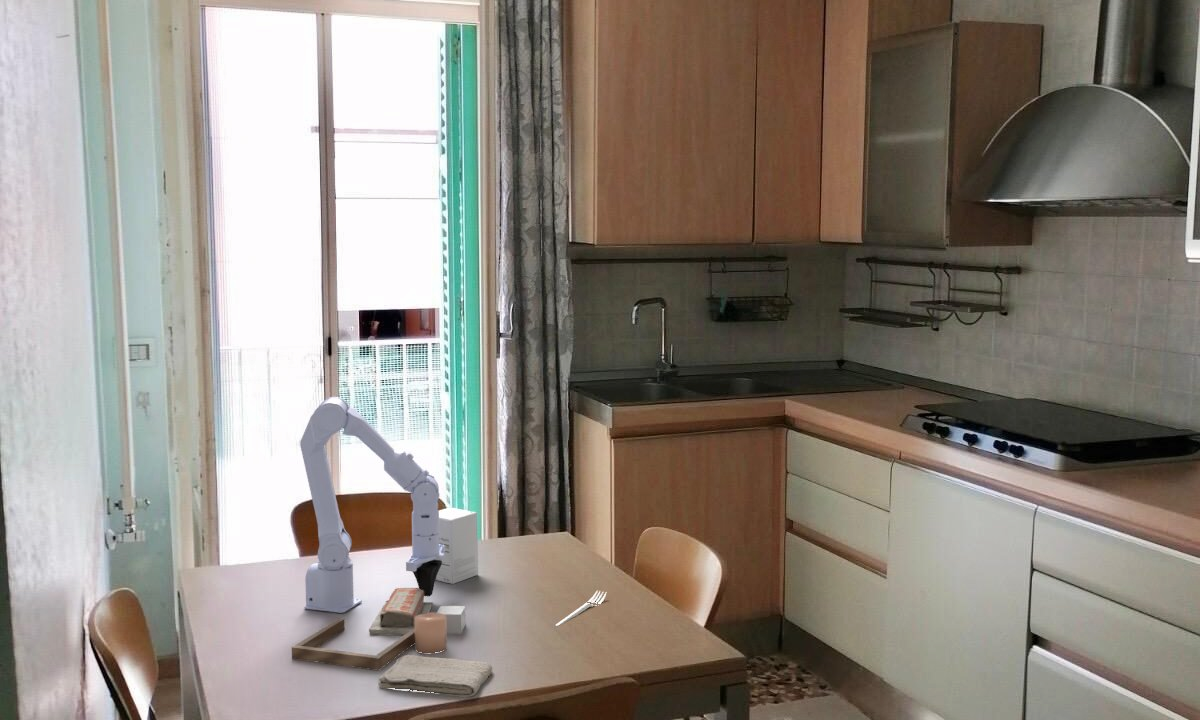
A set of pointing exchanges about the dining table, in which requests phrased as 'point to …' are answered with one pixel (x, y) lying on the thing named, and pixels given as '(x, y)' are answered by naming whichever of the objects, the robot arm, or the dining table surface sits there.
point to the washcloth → (436, 675)
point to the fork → (584, 607)
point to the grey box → (454, 618)
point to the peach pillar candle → (430, 632)
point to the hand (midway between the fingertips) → (426, 595)
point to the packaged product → (400, 612)
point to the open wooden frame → (311, 653)
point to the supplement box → (458, 545)
